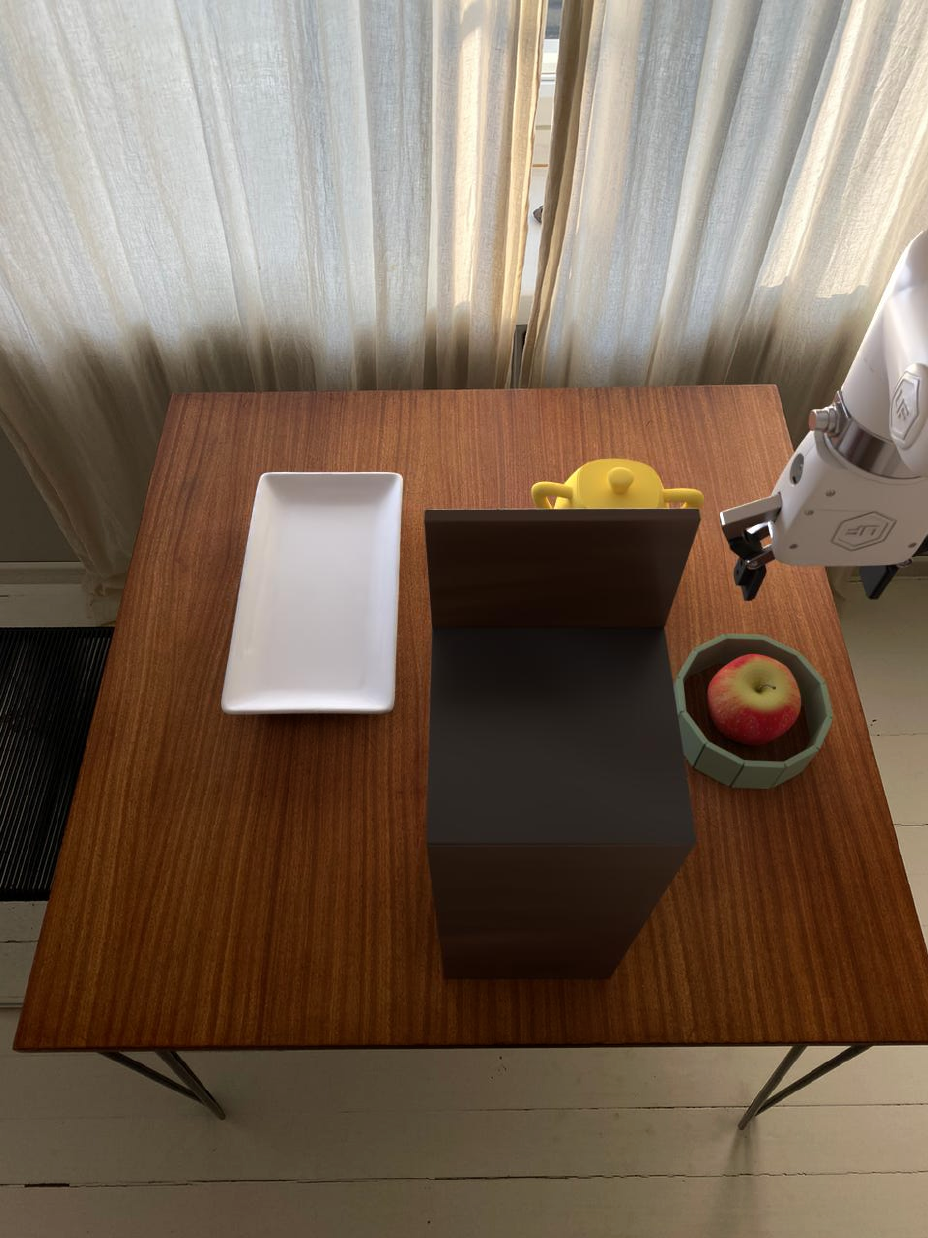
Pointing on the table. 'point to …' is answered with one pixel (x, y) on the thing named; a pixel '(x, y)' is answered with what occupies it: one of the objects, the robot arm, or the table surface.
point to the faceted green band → (721, 761)
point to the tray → (318, 596)
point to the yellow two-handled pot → (613, 488)
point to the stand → (552, 735)
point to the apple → (753, 699)
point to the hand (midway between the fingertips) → (805, 585)
